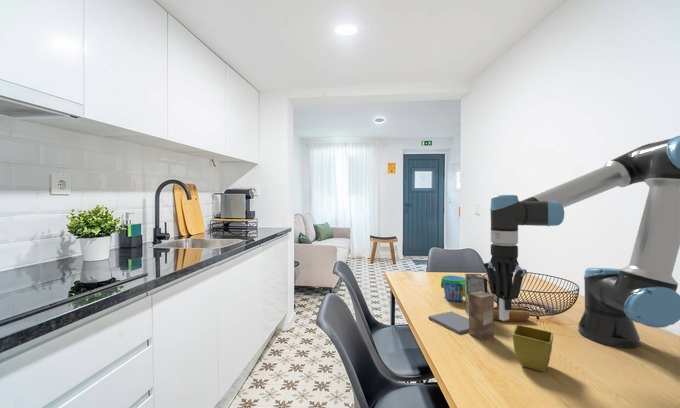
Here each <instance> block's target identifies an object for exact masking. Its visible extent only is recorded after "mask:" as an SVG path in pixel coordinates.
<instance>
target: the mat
mask: <svg viewBox="0 0 680 408" xmlns="http://www.w3.org/2000/svg"><path fill="white" fill-rule="evenodd" d="M428 320H430V321H432V322H434V323H436V324H438V325H440V326H443V327H444V328H445V329H446V328H447V329H448V330H450V331H452V332H454V333H456V334H459V335H461V334H466V333H469V317H468V318H467V317H466V316H463V315H460V314H458V313H456V312H454V311H452V310H451V311H447V312H442V313H437V314H432V315H428Z"/></svg>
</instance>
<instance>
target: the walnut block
mask: <svg viewBox="0 0 680 408" xmlns="http://www.w3.org/2000/svg"><path fill="white" fill-rule="evenodd" d="M494 307H495V295H494V294H492V293H489V292H487V293H485V292H482V291H480V292H474V293H469V316H468V319H469V332H468V335H470V336H471V337H473V338H476V339H477V340H480V341H484V340H485V341H486V340H489V339H492V338H494V337H495V319H494Z"/></svg>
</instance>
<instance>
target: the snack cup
mask: <svg viewBox="0 0 680 408" xmlns="http://www.w3.org/2000/svg"><path fill="white" fill-rule="evenodd" d="M440 288H442V289H443V292H444V296H445V297H444V298H445V299H446V300H448V301H450V302H461V301H462V300H463V298H464V297H465V276H464V277H463V276H459V275H443V276H442V277H441V283H440Z"/></svg>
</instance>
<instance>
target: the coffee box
mask: <svg viewBox="0 0 680 408" xmlns="http://www.w3.org/2000/svg"><path fill="white" fill-rule="evenodd" d="M464 278H465V298H464V299H465V301H464V303H465V313H466V315H467V316H468V317H469V293H474V292H480V291H482V292H485V293H488V277H487V278H486V277H485V276H484V275H482V274H481V273H465V274H464Z"/></svg>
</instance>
